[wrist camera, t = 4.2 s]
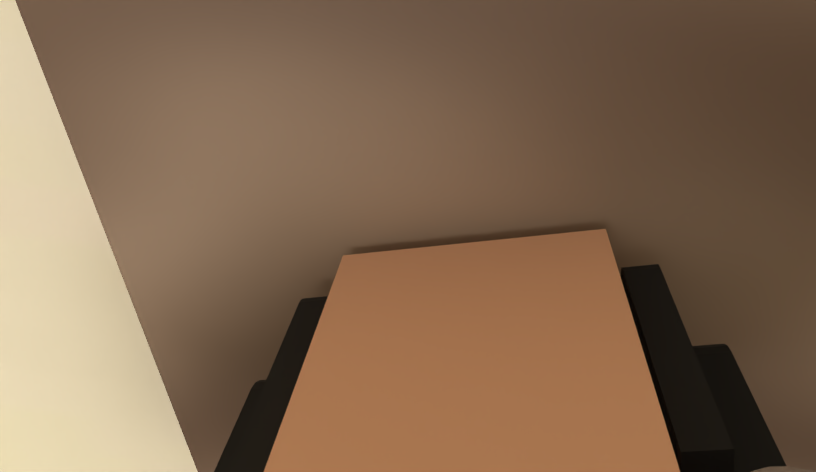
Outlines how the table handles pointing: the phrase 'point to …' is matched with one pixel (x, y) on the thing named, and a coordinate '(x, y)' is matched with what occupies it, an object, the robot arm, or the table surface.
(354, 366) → the stub
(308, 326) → the robot arm
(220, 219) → the ticket board
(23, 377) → the table surface
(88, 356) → the table surface
